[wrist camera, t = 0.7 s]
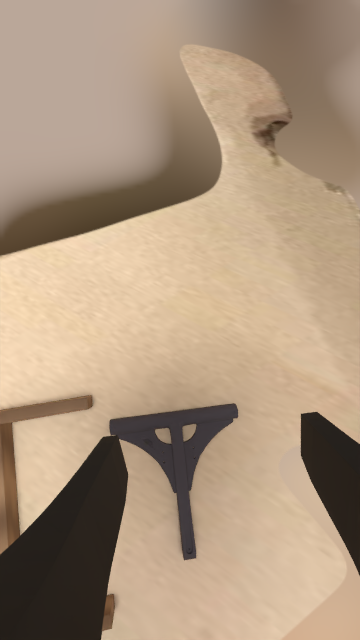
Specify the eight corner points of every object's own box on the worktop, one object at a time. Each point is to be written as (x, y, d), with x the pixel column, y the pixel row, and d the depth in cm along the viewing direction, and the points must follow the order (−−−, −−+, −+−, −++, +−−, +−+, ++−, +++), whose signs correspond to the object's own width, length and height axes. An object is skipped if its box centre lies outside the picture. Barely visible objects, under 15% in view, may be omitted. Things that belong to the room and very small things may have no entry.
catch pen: (114, 607, 30) (111, 628, 27) (13, 633, 29) (1, 658, 26) (91, 395, 33) (86, 397, 30) (-1, 410, 32) (-14, 414, 29)
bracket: (121, 561, 31) (119, 580, 29) (111, 418, 33) (107, 423, 31) (250, 536, 33) (259, 552, 30) (232, 402, 35) (239, 405, 32)
